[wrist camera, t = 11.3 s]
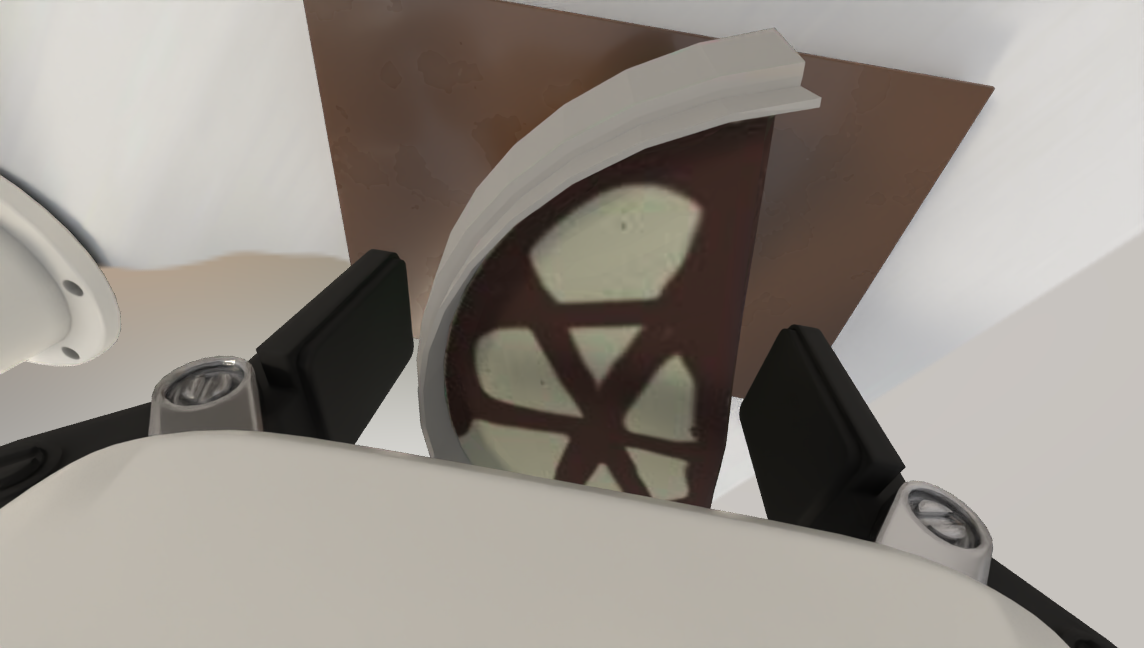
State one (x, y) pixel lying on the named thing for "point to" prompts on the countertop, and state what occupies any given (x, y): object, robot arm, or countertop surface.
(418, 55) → the cutting board
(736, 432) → the countertop surface
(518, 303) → the food container
